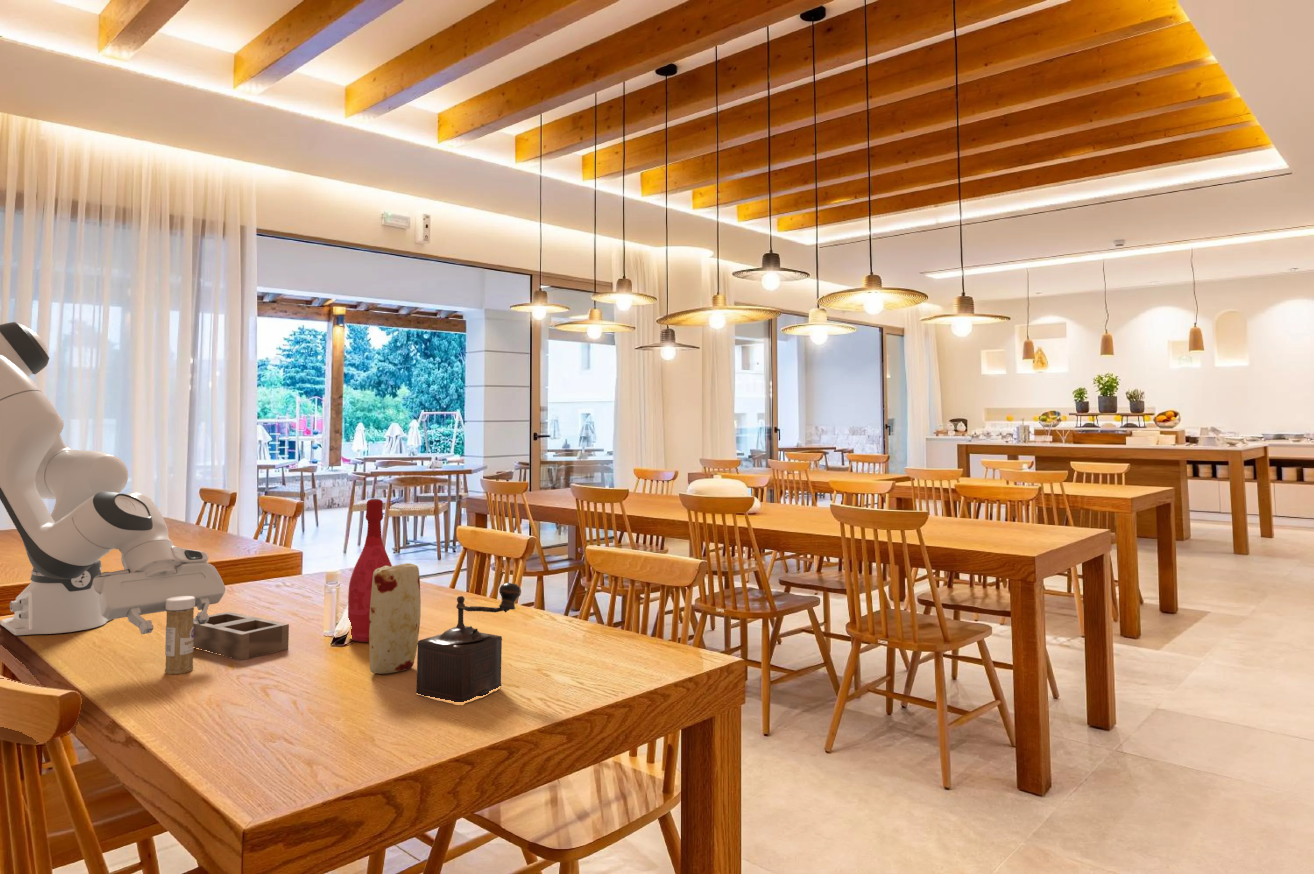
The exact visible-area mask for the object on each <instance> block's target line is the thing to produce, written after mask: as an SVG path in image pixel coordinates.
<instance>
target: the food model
mask: <svg viewBox="0 0 1314 874" xmlns="http://www.w3.org/2000/svg"><path fill="white" fill-rule="evenodd" d="M421 597H422V596H421V579H420V568H419V566H418V565H416V564H414V563H411V562H407V563H400V564H396V565H392V566H391V567H389V566H383V567H381V568H378V569H376V570H375V571H374V573H373V580H372V591H371V603H370V618H369V625H370V628H369V642H368V644H369V669H370V672H371V673H373V674H375V673H377V674H378V675H379V674H390V673H397V672H402V671H407V670H410V669H412V668H413V666H414V664H415V661H416V657H417V656H416V655H417V652H418V641H419V636H420V626H421V612H422V611H421V607H422V606H421V604H422V601H421Z"/></svg>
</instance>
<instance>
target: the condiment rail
mask: <svg viewBox="0 0 1314 874" xmlns="http://www.w3.org/2000/svg"><path fill="white" fill-rule="evenodd" d="M208 616H209V620H208V622H207V623H206V624H200V625H198V624H197V621H196V619H195V617H193V619H194V620H193V627H194V639H193V647H195V648H199V649H202V650H207V651H210V652H213V653H212V654H214V653H217V654H221V655H224V656H223V657H225V656H227V657H226V658H229V657H232V658H231V659H233V658H235V660H237V659H238V660H239V661H245V660H250V659H253V657H254V658H257V657H261V656H265V655H269V654H274V653H278V652H281V651H285V650H289V641H290V640H289V637H290V635H289V634H290V633H289V632H290V629H289V627H290V626H289V625H290V624H289V623H285V622H279V621H277V620H276V621H275V620H271V619H267V618H261V617H255V616H252V615H246V614H243V613H237V612H232V611H225V612H220V613H216V614H215V613H214V614H210V615H208ZM202 650H201V651H202ZM210 652H209V653H210ZM217 654H216V655H217ZM221 655H220V656H221ZM249 658H250V659H249Z"/></svg>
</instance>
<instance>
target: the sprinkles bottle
mask: <svg viewBox="0 0 1314 874" xmlns="http://www.w3.org/2000/svg"><path fill="white" fill-rule="evenodd" d="M195 608H196V607H195V597H193V596H176V597H171V598H168V599H166V611H165V612H166V623H165V624H166V626H165V669H164V673H166V674H167V675H180V673H182V674H185V673H189V672H190V671H192V670H193V669H194V665H193V664H194V659H193V658H194V648H193V639H194V627H193V620H194V618H195V617H194V610H195Z"/></svg>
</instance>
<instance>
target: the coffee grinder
mask: <svg viewBox="0 0 1314 874" xmlns="http://www.w3.org/2000/svg"><path fill="white" fill-rule="evenodd" d="M499 594H500V596H501V603H500V604H499V605H498V607H493V606H492V607H487V606H480V605H479V606H473V605H472V606H467V605H465V603H464V602H465V599H466V598H465V596H462V595H458V596H457V599H456V602H457V604H456V609H457V616H458V617H457V625H456V626H454V627H451V628H449V629H447V630H444V632H442V633H441V634H437V635H434V636H429V637H425V638H423V639H420V640H419V639H418V644H417V651H416V655H417V656H416V662H417V663H416V692H415V694H416V693H418V694H421V695H424V696H430V697H435V698H440V699H445V700H451V701H454V702H464V701H467V700H470V699H472V698H474V697H476V696H483V695H486V694H488V693H489V691H491V690H493V689H496V688H498V687H499V686H502V654H503V653H502V652H503V651H502V649H503V648H502V647H503V645H502V643H503V637H502V636H501V635H497V634H492V633H491V634H490V633H485V632H480V631H479V630H478V628H474V627H473V626H471V625H470V626H468V625H465V623H464V611H466V612H483V613H485V612H486V613H499V612H504V613H508V611H510V610H516V606H515V605H516V604H515V603H516V601H517V600H518V599H519V597H520V596H521V594H522V589H521V587H520V585H518V584H516V583H512V582H506V583H503V584H501V585H500V587H499ZM502 687H503V686H502Z"/></svg>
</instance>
